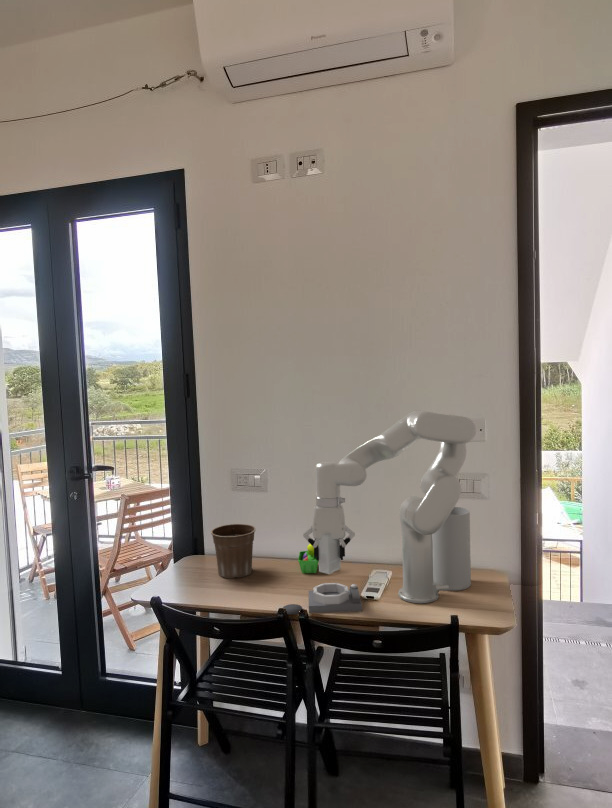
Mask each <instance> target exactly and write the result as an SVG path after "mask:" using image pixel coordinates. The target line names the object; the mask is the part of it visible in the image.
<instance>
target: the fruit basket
mask: <svg viewBox="0 0 612 808" xmlns="http://www.w3.org/2000/svg"><path fill="white" fill-rule="evenodd" d="M306 549H307V550H302V551H301V550H300V551H299V554H298V559H297V561H298V563H299V567H300V571H301V573H302V574H317V570H318V567H319V560H318V561H316V557H314V547H313V546H312V545H311V544H310V543H309V544H308V545H307V547H306Z"/></svg>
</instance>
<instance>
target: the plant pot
mask: <svg viewBox="0 0 612 808" xmlns="http://www.w3.org/2000/svg"><path fill="white" fill-rule="evenodd" d="M255 532H256V527H255V525H250V524H245V523H233V524H232V523H230V524H223V525H220V526H217V527H214V528H212V530H211V531H210V534H211V535H212V539H213V544H214V549H215V555H216V565H217V573H218V575H219V577H222V578H223V579H224V578H225V579H235V578H243V577H247V576H249V575H250V574H251V573H252V571H253V550H254V546H253V545H254V541H255V540H254V539H255Z"/></svg>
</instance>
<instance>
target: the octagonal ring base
mask: <svg viewBox="0 0 612 808" xmlns="http://www.w3.org/2000/svg"><path fill="white" fill-rule="evenodd" d="M312 589H313V590H308V613H337V612H338V613H340V612H363V604H362V599H361V596H360V592H359V587H358V585H357V584H355V583H353V584H351V585H349V587H348V586H347V585H345V584H342V583H338V582H324V583H323V582H322V583H321V584H319V585H316V586H314V587H312Z"/></svg>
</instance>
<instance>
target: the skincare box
mask: <svg viewBox="0 0 612 808" xmlns="http://www.w3.org/2000/svg"><path fill="white" fill-rule="evenodd" d="M340 545H341V543H340V541H339V539H332V535H331V534H325V535H322V539H320V540H319V543H318V549H319V562H318V572H319V573H323V574H327V575H331V574H333V573H334V572H337V571H339V570H341V568H342V567H341V559H340Z"/></svg>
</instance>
